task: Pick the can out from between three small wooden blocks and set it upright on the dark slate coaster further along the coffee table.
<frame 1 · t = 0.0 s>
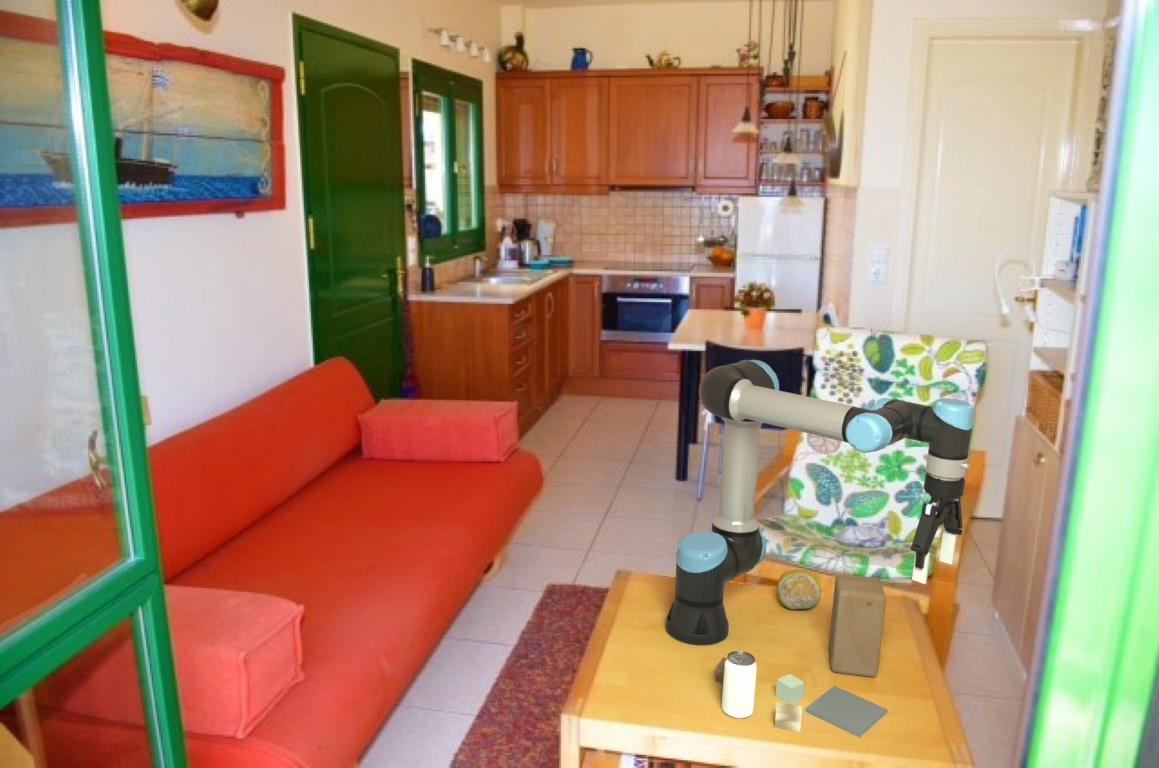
hand: (933, 571, 184), 28 cm above the table, fingers open, 13 cm apart
can: (737, 711, 181), on the table
sage painted cube: (789, 697, 187), on the table
slate coaster: (846, 711, 182), on the table
pale birch block: (787, 726, 177), on the table
walnut block: (727, 680, 192), on the table
wooden block: (851, 665, 200), on the table
fruit: (796, 609, 226), on the table
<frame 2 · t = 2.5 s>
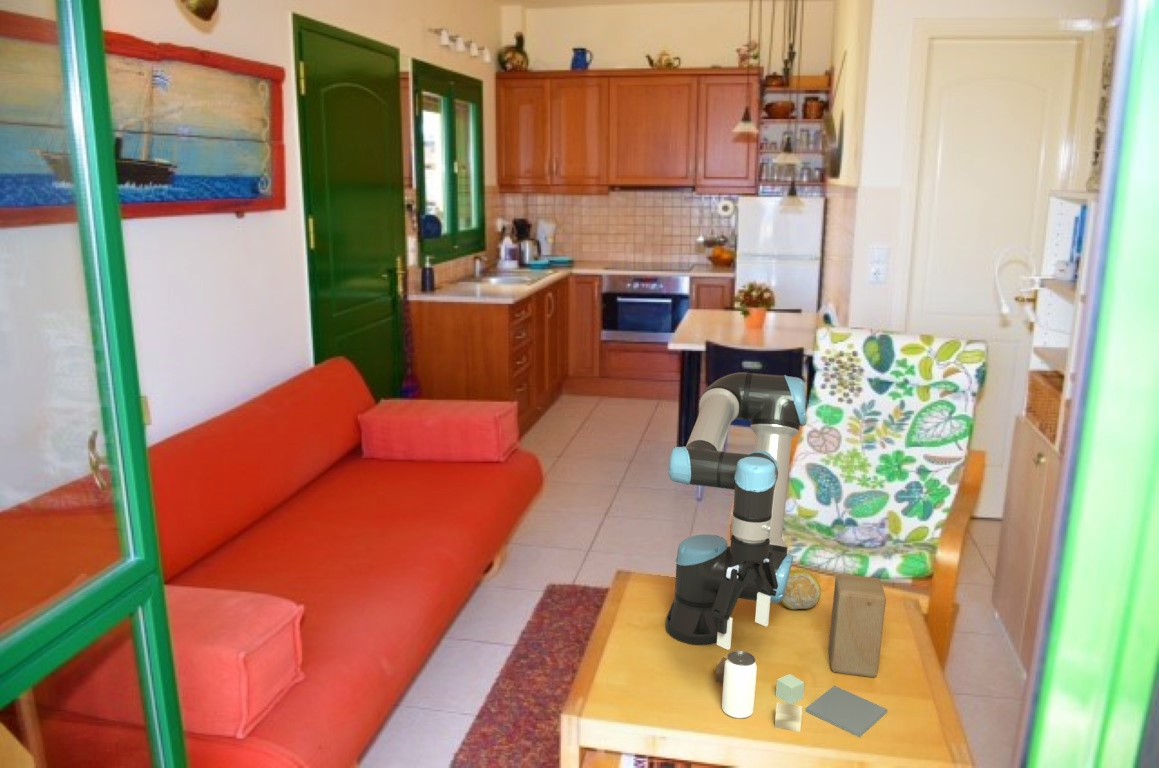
hand: (743, 635, 177), 17 cm above the table, fingers open, 13 cm apart
nothing on the table moved.
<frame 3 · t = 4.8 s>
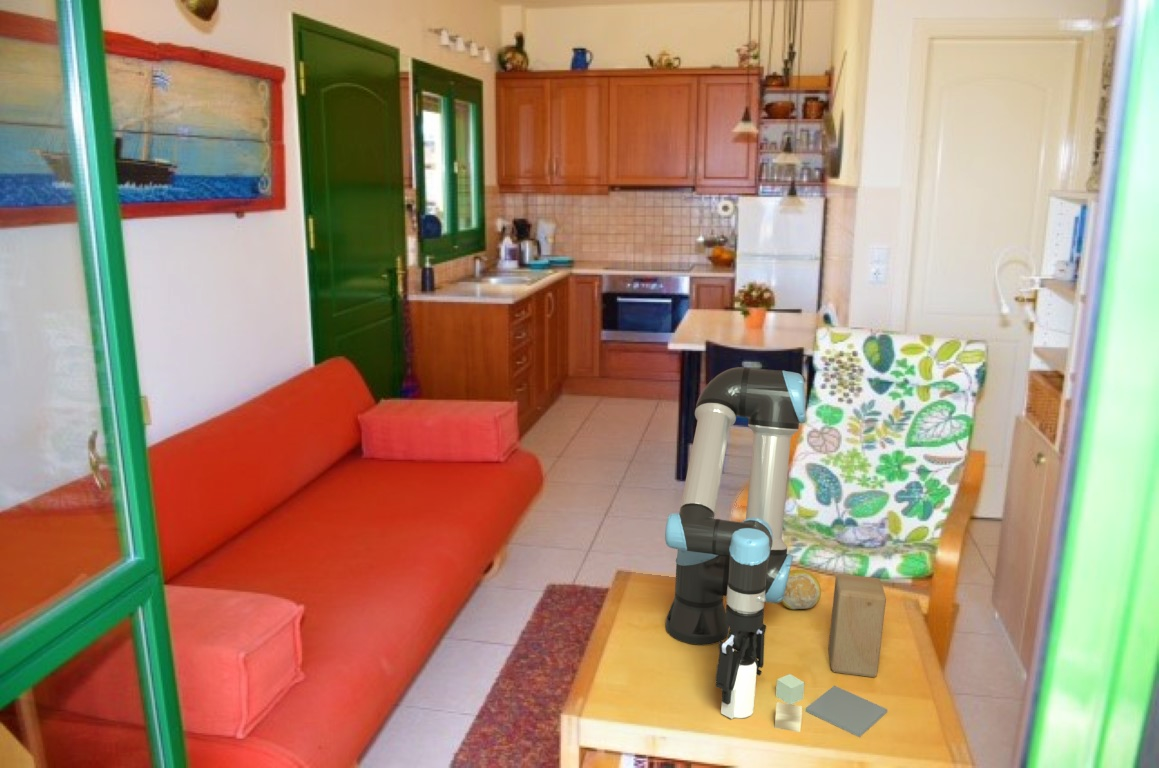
hand: (737, 708, 181), 0 cm above the table, fingers closed on can, 6 cm apart
can: (737, 711, 181), on the table, touching gripper
everything else where it was.
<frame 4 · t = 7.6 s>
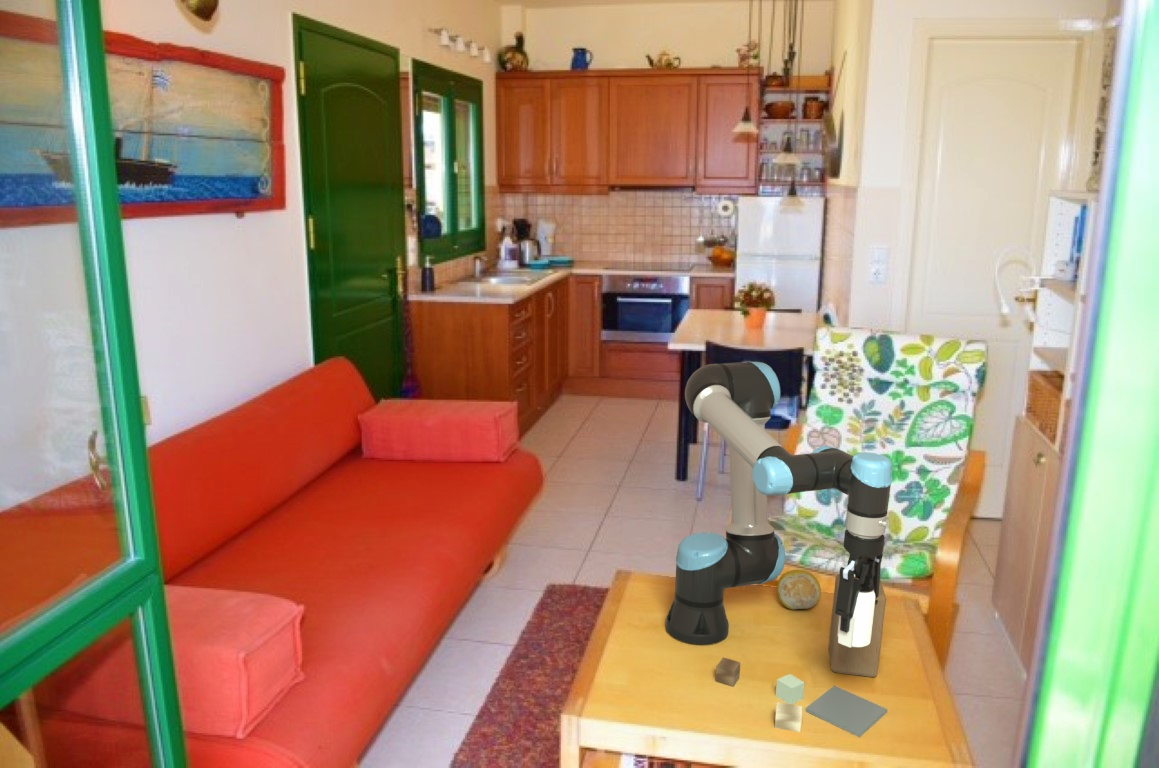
hand: (853, 638, 178), 17 cm above the table, fingers closed on can, 6 cm apart
can: (853, 641, 178), point 16 cm above the table, touching gripper
everything else where it was.
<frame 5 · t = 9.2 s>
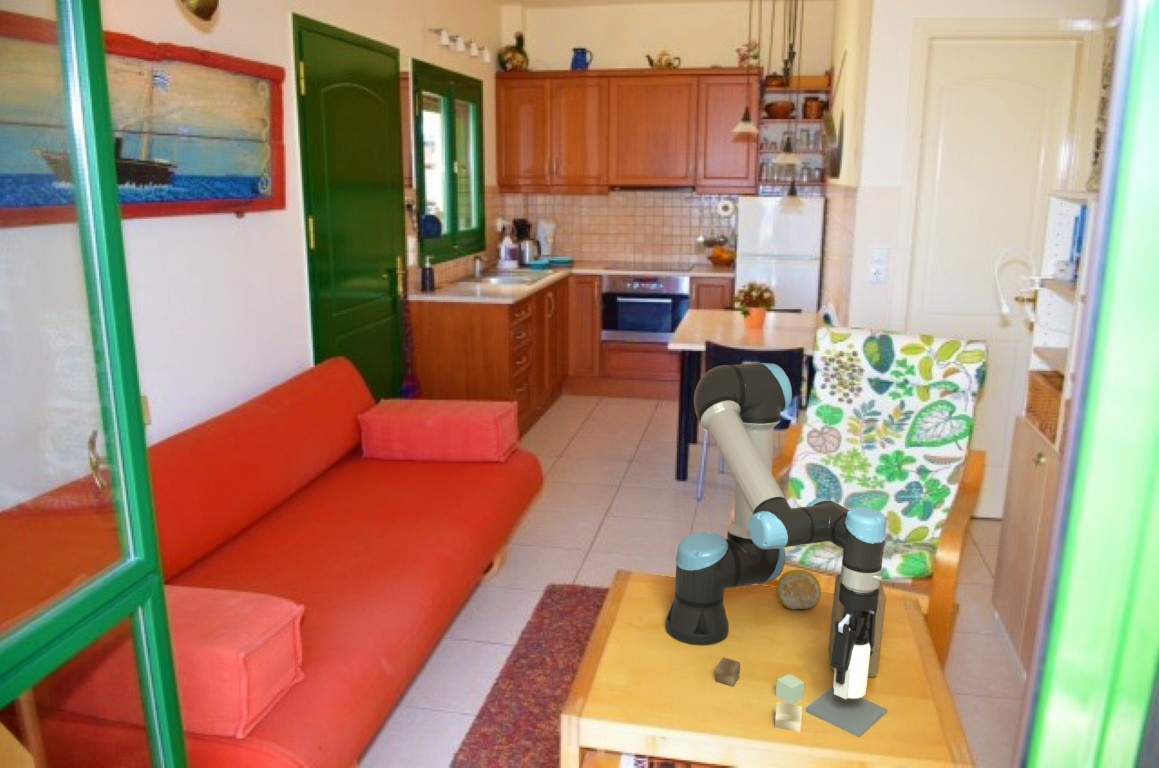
hand: (849, 688, 181), 5 cm above the table, fingers closed on can, 6 cm apart
can: (849, 692, 181), point 5 cm above the table, touching gripper
everything else where it was.
when the fingers open (3 cm above the table, at t = 10.4 s): can drops 1 cm, resting on slate coaster.
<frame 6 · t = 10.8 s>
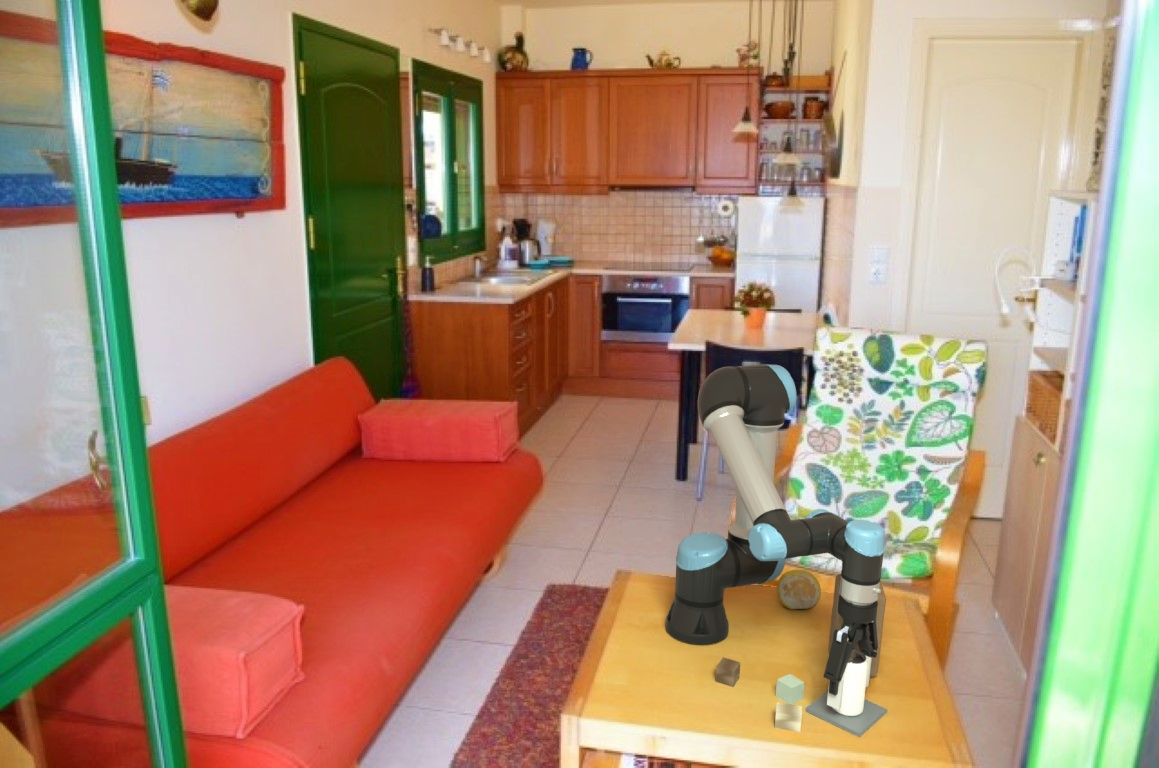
hand: (848, 695, 181), 4 cm above the table, fingers open, 11 cm apart
can: (846, 709, 182), point 1 cm above the table, touching slate coaster
everything else where it was.
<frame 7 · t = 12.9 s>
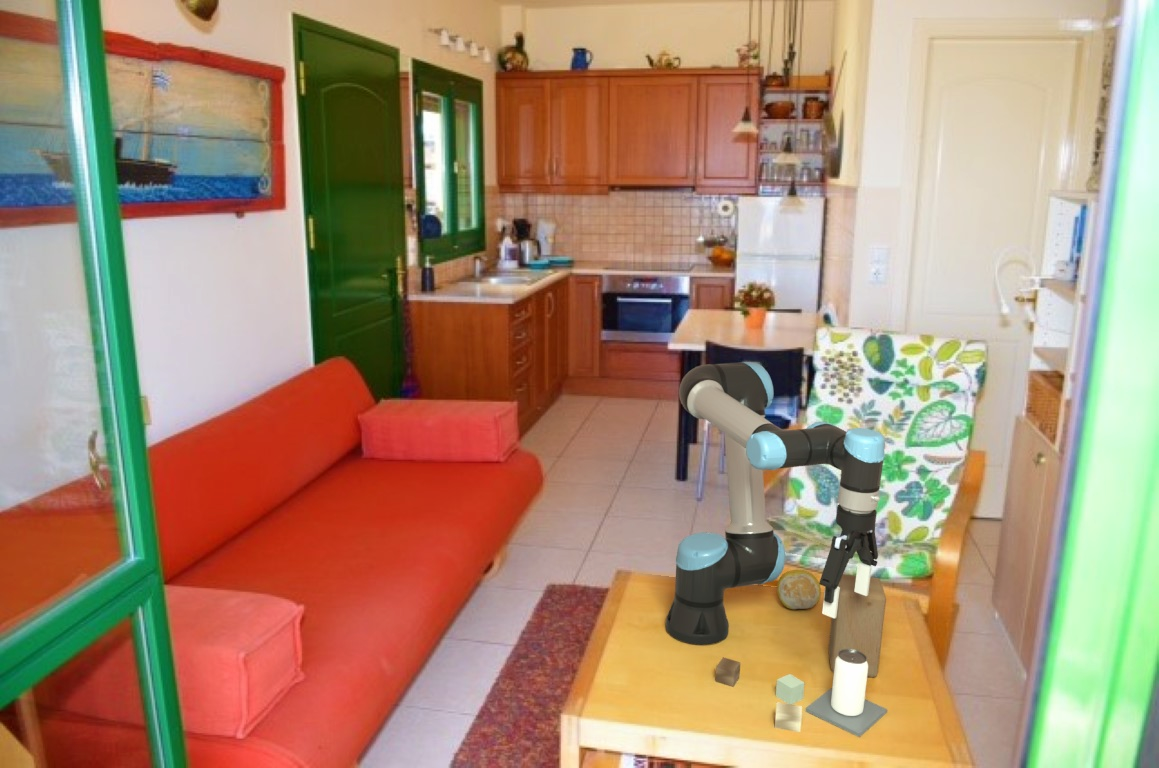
hand: (845, 604, 179), 23 cm above the table, fingers open, 13 cm apart
nothing on the table moved.
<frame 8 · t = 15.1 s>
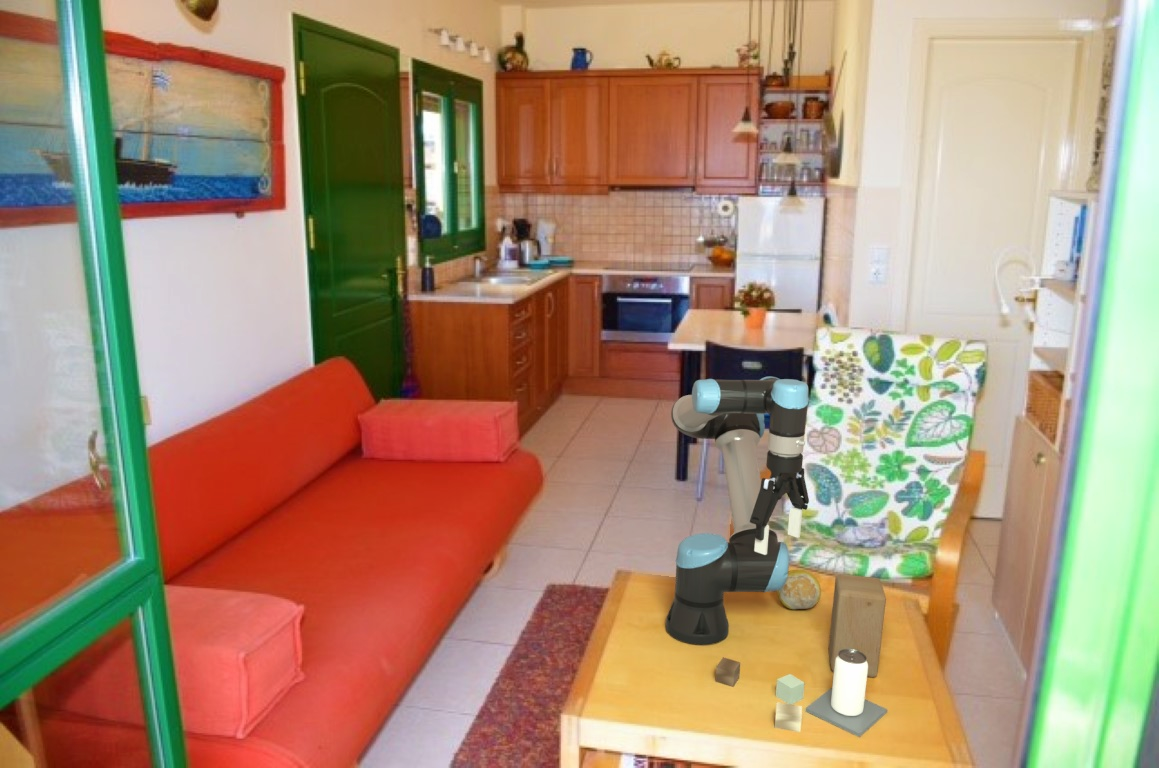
hand: (777, 544, 194), 29 cm above the table, fingers open, 13 cm apart
nothing on the table moved.
at the end: can inside the target area on the slate coaster (0.0 cm from its centre), point 0.6 cm above the slate coaster's base; can tilted 0°; the gripper is holding nothing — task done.
